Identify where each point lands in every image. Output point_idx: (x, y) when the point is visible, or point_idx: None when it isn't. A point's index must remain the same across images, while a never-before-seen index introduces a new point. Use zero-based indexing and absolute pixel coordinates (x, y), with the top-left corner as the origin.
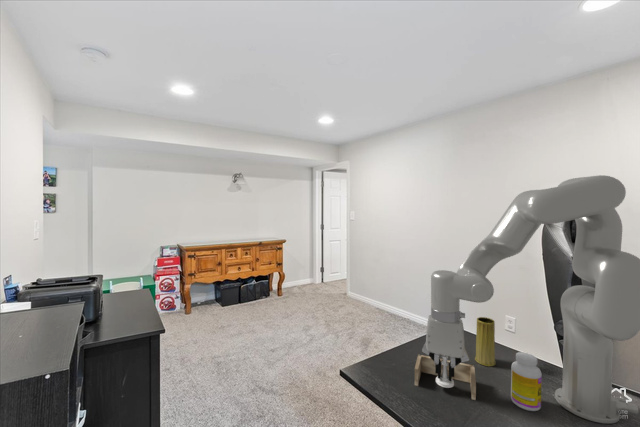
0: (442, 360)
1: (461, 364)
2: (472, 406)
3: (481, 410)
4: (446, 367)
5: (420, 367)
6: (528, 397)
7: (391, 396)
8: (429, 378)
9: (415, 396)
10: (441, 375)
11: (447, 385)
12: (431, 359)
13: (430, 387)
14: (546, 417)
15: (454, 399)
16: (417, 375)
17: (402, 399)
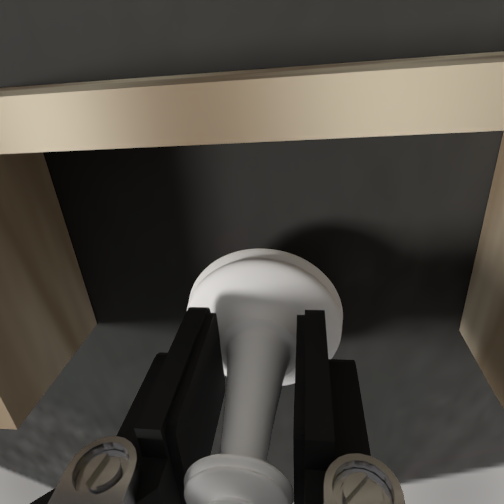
0: (178, 138)
1: (500, 126)
2: (447, 389)
3: (499, 404)
4: (265, 458)
5: (2, 195)
6: None
7: (24, 439)
8: (132, 195)
9: (122, 407)
10: (226, 347)
11: (289, 383)
12: (28, 151)
13: (172, 305)
14: None
15: None
16: (48, 382)
17: (77, 442)
